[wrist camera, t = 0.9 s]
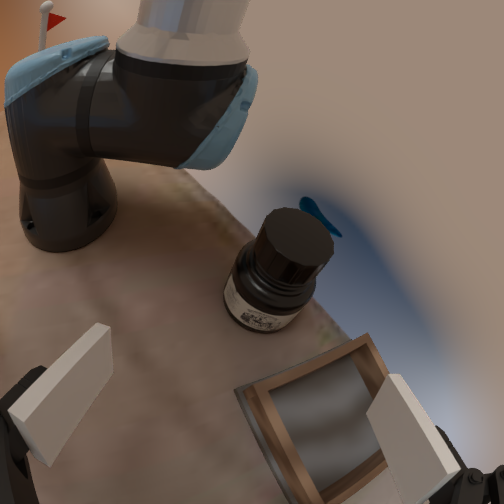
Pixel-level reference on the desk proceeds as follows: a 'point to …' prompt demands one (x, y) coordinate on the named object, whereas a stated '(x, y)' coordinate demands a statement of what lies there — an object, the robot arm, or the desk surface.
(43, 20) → the flag stand
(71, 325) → the desk surface
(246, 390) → the tray
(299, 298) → the ink bottle
